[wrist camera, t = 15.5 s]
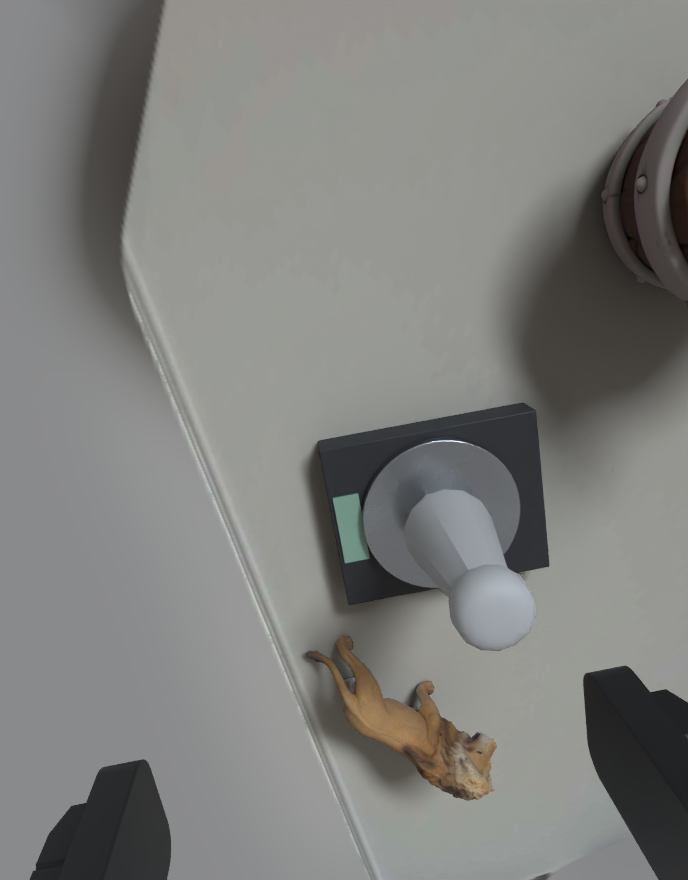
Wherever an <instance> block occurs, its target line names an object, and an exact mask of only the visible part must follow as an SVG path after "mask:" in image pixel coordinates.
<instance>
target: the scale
mask: <svg viewBox="0 0 688 880" xmlns="http://www.w3.org/2000/svg"><path fill="white" fill-rule="evenodd" d="M439 437H452V438H459V439H464V440H468V441H471V442H474V443H476V444H478V445H481V446H482V447H484V448H486V449H487V450H489V451H490V452H491V453H493V454H494V455H495V456H496V457H497V458H498V459H499V460H500V461H501V462H502V463H503V464H504V465H505V466H506V467H507V469H508V470H509V472H510V473H511V475H512V477H513V479H514V481H515V483H516V486H517V489H518V492H519V498H520V520H519V524H518V528H517V532H516V534H515V537H514V539H513V541H512V543H511V545H510V547H509V549H508V550H507V551H506V553H505V554H504V559H505V562H506V565H507V568H508V569H510V570H512V571H514V572H515V573H518V572H523V571H528V570H533V569H539V568H544V567H549V555H548V544H547V532H546V521H545V509H544V497H543V486H542V474H541V463H540V451H539V440H538V428H537V416H536V410H534V409H533V408H531V407H530V406H528V405H526V404H525V403H518V404H513V405H507V406H502V407H497V408H491V409H486V410H480V411H475V412H470V413H464V414H459V415H454V416H448V417H443V418H438V419H432V420H427V421H422V422H416V423H411V424H406V425H400V426H395V427H390V428H384V429H379V430H373V431H368V432H363V433H357V434H352V435H347V436H341V437H336V438H331V439H325V440H320V441H318V447H319V453H320V459H321V464H322V469H323V474H324V479H325V485H326V490H327V495H328V500H329V505H330V511H331V516H332V521H333V526H334V531H335V537H336V542H337V547H338V552H339V557H340V563H341V568H342V573H343V578H344V583H345V588H346V594H347V599H348V604H349V605H352V604H358V603H363V602H368V601H373V600H378V599H383V598H389V597H394V596H399V595H404V594H409V593H415V592H420V591H425V590H430V589H435V588H427V587H420V586H416V585H412V584H410V583H407V582H404V581H402V580H400V579H398V578H396V577H395V576H393V575H392V574H390V573H389V572H388V571H387V570H385V569H384V568H383V567H382V566H381V565H380V564H379V562H378V561H377V560H376V559H375V557H374V556H373V554H372V552H371V551H370V549H369V546H368V544H367V541H366V538H365V534H364V530H363V523H362V507H363V502H364V497H365V494H366V491H367V488H368V486H369V484H370V482H371V480H372V479H373V477H374V475H375V474H376V472H377V471H378V470H379V469H380V467H381V466H382V465H383V464H384V463H385V462H386V461H387V460H388V459H389V458H390V457H391V456H393V455H394V454H396V453H397V452H398V451H400V450H402V449H403V448H405V447H407V446H409V445H411V444H414V443H416V442H419V441H423V440H427V439H431V438H439Z"/></svg>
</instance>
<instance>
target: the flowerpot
mask: <svg viewBox="0 0 688 880" xmlns="http://www.w3.org/2000/svg"><path fill="white" fill-rule="evenodd" d="M601 197H602V199H603V215H604V221H605V226H606V230H607V233H608V236H609V239H610V241H611V244H612V246H613V248H614V249H615V251H616V253H617V255H618V256H619V257H620V259H621V260H622V262H623V263H624V264H625V265H626V267H627V268H628V269H630V270H631V271H632V272H634V273H635V274H636V280H637V281H638V282H646V281H647V282H649V283H650V284H652V285H654V286H656V287H659V288H663V289H666V290H669V291H670V292H671V293H672V294H673V295H674V296H676V297H677V298H679V299H680V300H682V301H684V302H686V303H687V306H688V79H687V80H686V82H685V83H684V84H683V85H682V86H681V87H680V88H679V90H678V91H677V92H676V93H675V95H674V96H673V97H672V98H670V99H668V100H661V101H659V102H658V103H657V105H656V108H654V109H653V110H652V111H651V112H650V113H649V114H648V115H647V116H646V117H645V118H644V119H643V120H642V121H641V122H640V123H639V124H638V125H637V127H636V128H635V129H634V130H633V131H632V132H631V134H630V135H629V136H628V138H627V139H626V140H625V142H624V143H623V145H622V146H621V148H620V150H619V151H618V153H617V155H616V157H615V159H614V161H613V163H612V165H611V168H610V170H609V173H608V176H607V179H606V183H605V188H604V190H603V192H602V194H601ZM651 269H652V270H651ZM653 270H654V271H653Z"/></svg>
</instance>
